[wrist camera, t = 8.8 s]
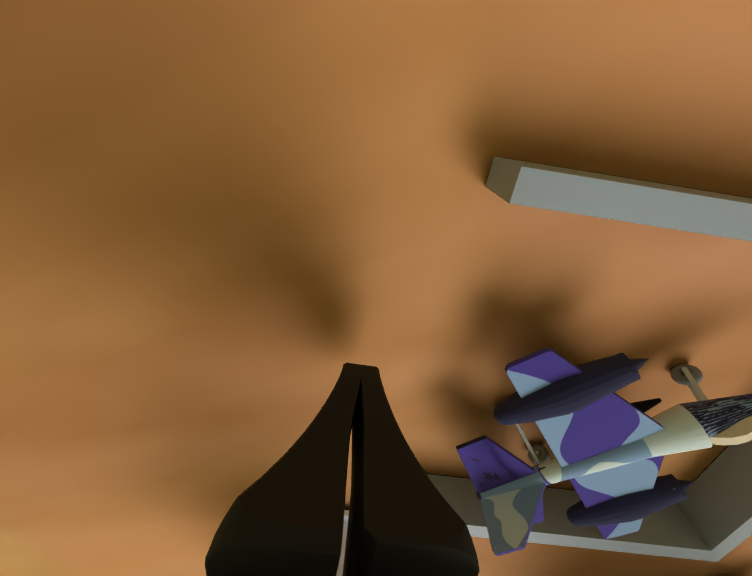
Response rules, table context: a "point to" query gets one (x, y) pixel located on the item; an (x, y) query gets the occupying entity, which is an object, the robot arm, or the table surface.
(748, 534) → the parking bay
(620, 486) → the toy airplane
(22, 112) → the table surface
